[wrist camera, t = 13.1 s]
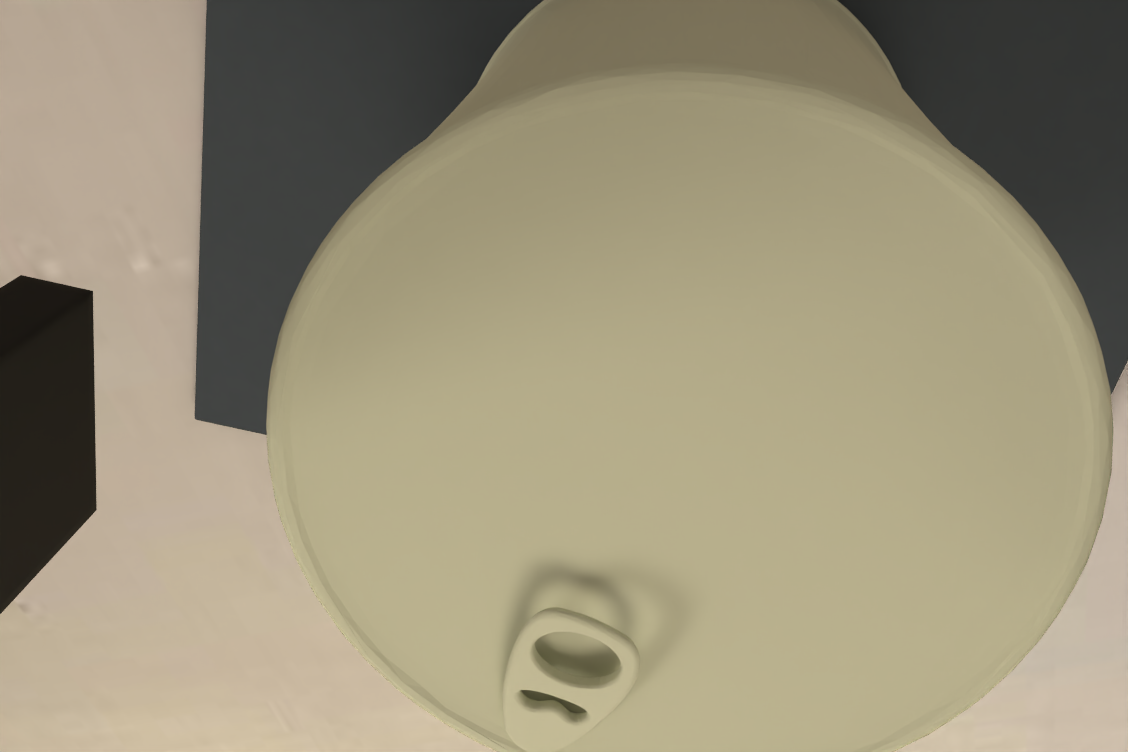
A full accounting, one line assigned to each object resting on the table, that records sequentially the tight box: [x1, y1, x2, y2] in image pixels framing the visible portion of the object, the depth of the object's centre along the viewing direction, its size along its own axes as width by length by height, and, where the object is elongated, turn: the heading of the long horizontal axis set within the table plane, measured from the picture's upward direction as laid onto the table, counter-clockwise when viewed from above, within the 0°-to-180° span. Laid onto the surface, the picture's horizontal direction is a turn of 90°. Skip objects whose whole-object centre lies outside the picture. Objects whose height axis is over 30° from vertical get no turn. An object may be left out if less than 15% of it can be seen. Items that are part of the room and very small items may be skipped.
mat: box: [195, 0, 1128, 435], centre depth 22 cm, size 20×16×1 cm
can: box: [266, 0, 1113, 752], centre depth 17 cm, size 9×9×12 cm
